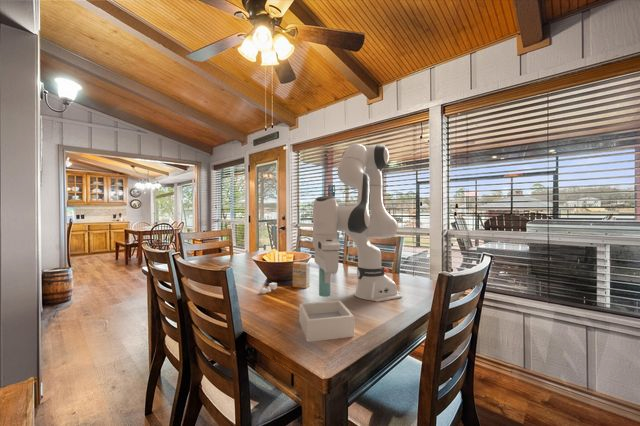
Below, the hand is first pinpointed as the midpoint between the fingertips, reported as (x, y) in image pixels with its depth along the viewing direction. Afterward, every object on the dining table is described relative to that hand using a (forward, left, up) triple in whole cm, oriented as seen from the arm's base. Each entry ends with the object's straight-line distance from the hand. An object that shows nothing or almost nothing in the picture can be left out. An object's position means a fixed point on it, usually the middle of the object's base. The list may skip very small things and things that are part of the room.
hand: (324, 280), depth 102 cm
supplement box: (0, -53, -18) cm, 56 cm away
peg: (0, 0, -5) cm, 5 cm away
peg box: (0, 0, -18) cm, 18 cm away
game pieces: (+17, -50, -18) cm, 56 cm away
